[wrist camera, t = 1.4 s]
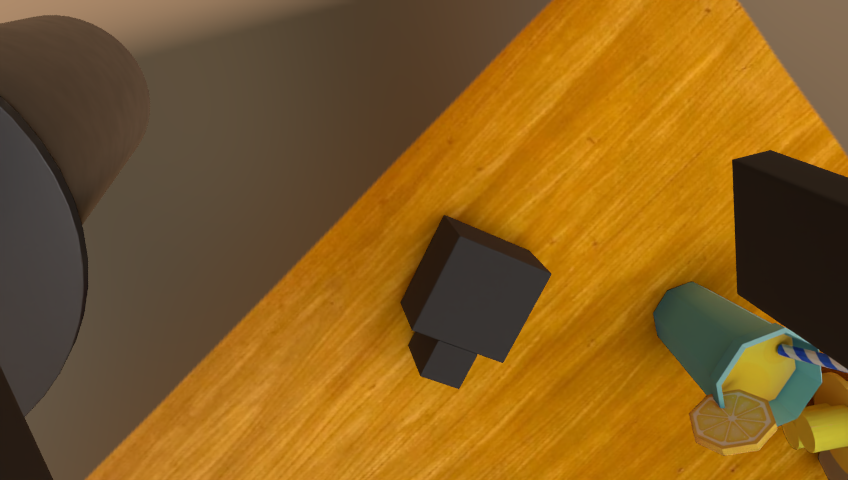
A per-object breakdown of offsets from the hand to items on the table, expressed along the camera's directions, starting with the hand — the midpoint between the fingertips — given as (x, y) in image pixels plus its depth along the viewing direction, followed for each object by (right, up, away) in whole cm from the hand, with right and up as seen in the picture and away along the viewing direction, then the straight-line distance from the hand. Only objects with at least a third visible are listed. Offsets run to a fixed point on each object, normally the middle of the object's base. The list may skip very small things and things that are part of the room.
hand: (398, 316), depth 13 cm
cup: (+21, -4, +44) cm, 49 cm away
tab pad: (+3, -2, +40) cm, 40 cm away
